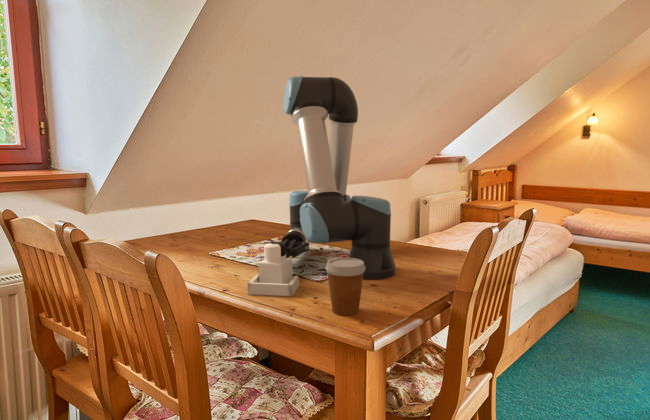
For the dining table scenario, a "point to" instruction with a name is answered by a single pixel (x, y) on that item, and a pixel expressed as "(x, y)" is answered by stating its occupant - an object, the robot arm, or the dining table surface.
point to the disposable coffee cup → (345, 284)
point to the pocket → (272, 287)
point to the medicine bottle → (275, 264)
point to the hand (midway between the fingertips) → (277, 259)
